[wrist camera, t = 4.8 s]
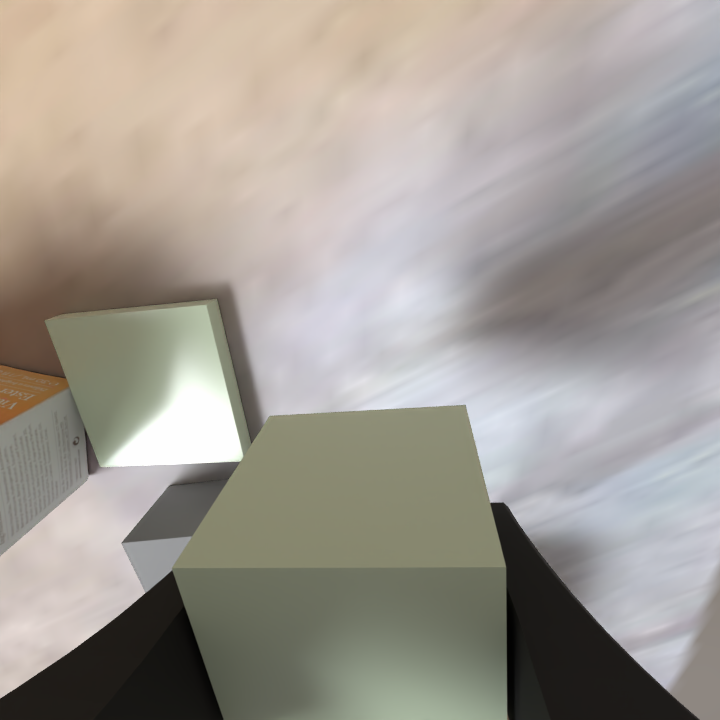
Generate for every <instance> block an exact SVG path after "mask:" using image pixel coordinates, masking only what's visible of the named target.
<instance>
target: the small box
mask: <svg viewBox="0 0 720 720" xmlns="http://www.w3.org/2000/svg"><path fill="white" fill-rule="evenodd" d="M87 479H88V465H87V452H86V439H85V427H84V424H83V421H82V418H81V416H80V413H79V410H78V408H77V405H76V403H75V400H74V397H73V395H72V392H71V389H70V387H69V384H68V381H67V379H65V378H60V377H54V376H48V375H43V374H39V373H34V372H29V371H25V370H20V369H15V368H11V367H7V366H3V365H0V556H1V555H2V554H3V553H4V552H5V551H7V550H8V549H9V548H10V547H11V546H12V545H13V544H15V543H16V542H17V541H18V540H19V539H20V538H22V537H23V536H24V535H25V534H26V533H27V532H29V531H30V530H31V529H32V528H33V527H34V526H35V525H36V524H38V523H39V522H40V521H41V520H42V519H43V518H44V517H46V516H47V515H48V514H49V513H50V512H51V511H52V510H54V509H55V508H56V507H57V506H58V505H59V504H61V503H62V502H63V501H64V500H65V499H66V498H67V497H69V496H70V495H71V494H72V493H73V492H74V491H75V490H77V489H78V488H79V487H80V486H81V485H82V484H84V483H85V482H86V481H87Z"/></svg>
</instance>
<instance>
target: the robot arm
mask: <svg viewBox="0 0 720 720" xmlns="http://www.w3.org/2000/svg"><path fill="white" fill-rule="evenodd" d="M490 505H491V509H492V513H493V517H494V521H495V525H496V529H497V533H498V537H499V541H500V545H501V549H502V553H503V557H504V561H505V565H506V617H507V714H508V718H509V720H699V719H698V718H697V717H696V716H695V715H694V714H692V713H691V712H690V711H689V710H688V709H686V708H685V707H684V706H683V705H682V704H681V703H680V702H679V701H677V700H676V699H675V698H674V697H673V696H672V695H671V694H670V693H669V692H668V691H667V690H666V689H664V688H663V687H662V686H661V685H660V684H659V683H658V682H657V681H656V680H655V679H654V678H653V677H652V676H651V675H650V674H649V673H647V672H646V671H645V670H644V669H643V668H642V667H641V666H640V665H639V664H638V663H637V662H636V661H635V660H634V659H633V658H632V657H631V656H630V655H629V654H628V653H627V652H626V651H625V650H624V649H623V648H622V647H621V646H620V645H619V644H618V643H617V642H616V641H615V640H614V639H613V638H612V637H611V636H610V635H609V634H608V633H607V632H606V630H605V629H604V628H603V627H602V626H601V625H600V624H599V623H598V622H597V621H596V620H595V619H594V618H593V616H592V615H591V614H590V613H589V612H588V611H587V610H586V609H585V607H584V606H583V605H582V604H581V603H580V602H579V601H578V600H577V598H576V597H575V596H574V595H573V594H572V593H571V591H570V590H569V589H568V588H567V587H566V586H565V584H564V583H563V582H562V581H561V579H560V578H559V577H558V576H557V574H556V573H555V572H554V571H553V569H552V568H551V567H550V566H549V564H548V563H547V562H546V561H545V559H544V558H543V557H542V556H541V554H540V553H539V552H538V550H537V549H536V548H535V546H534V545H533V543H532V542H531V541H530V539H529V538H528V537H527V535H526V534H525V532H524V531H523V529H522V528H521V527H520V525H519V524H518V522H517V521H516V519H515V517H514V516H513V514H512V513H511V511H510V509H509V508H508V506H506V505H505V504H504V503H490ZM0 720H224V719H223V716H222V713H221V710H220V707H219V704H218V702H217V699H216V696H215V693H214V690H213V687H212V684H211V681H210V678H209V675H208V672H207V670H206V667H205V664H204V661H203V658H202V655H201V652H200V649H199V646H198V643H197V640H196V637H195V635H194V632H193V629H192V626H191V623H190V620H189V617H188V614H187V611H186V608H185V605H184V603H183V600H182V597H181V594H180V591H179V588H178V585H177V582H176V579H175V576H174V573H173V571H171V572H170V573H169V574H167V575H166V576H165V577H164V578H163V579H162V580H160V581H159V582H158V583H157V584H156V585H155V586H153V587H152V588H151V589H150V590H149V591H148V592H146V593H145V594H144V595H143V596H142V597H140V598H139V599H138V600H137V601H136V602H135V603H133V604H132V605H131V606H130V607H129V608H128V609H126V610H125V611H124V612H123V613H121V614H120V615H119V616H118V617H116V618H115V619H114V620H112V621H111V622H110V623H109V624H107V625H106V626H105V627H103V628H102V629H101V630H99V631H98V632H97V633H95V634H94V635H93V636H91V637H90V638H89V639H87V640H86V641H85V642H83V643H82V644H81V645H79V646H78V647H77V648H75V649H74V650H72V651H71V652H70V653H68V654H67V655H65V656H64V657H62V658H61V659H59V660H58V661H56V662H55V663H53V664H52V665H50V666H49V667H47V668H46V669H44V670H43V671H41V672H40V673H38V674H37V675H35V676H34V677H32V678H31V679H29V680H28V681H26V682H25V683H23V684H22V685H21V686H19V687H18V688H16V689H15V690H13V691H11V692H10V693H8V694H7V695H5V696H4V697H2V698H0Z"/></svg>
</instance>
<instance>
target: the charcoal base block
mask: <svg viewBox="0 0 720 720" xmlns="http://www.w3.org/2000/svg"><path fill="white" fill-rule="evenodd" d="M228 480H229V479H225V480H217V481H208V482H200V483H191V484H183V485H174V486H169V487H168V488H167V489H166V490H165V491H164V493H163V494H162V495H161V496H160V497H159V499H158V500H157V501H156V502H155V503H154V505H153V506H152V507H151V508H150V509H149V511H148V512H147V513H146V514H145V515H144V517H143V518H142V519H141V520H140V521H139V523H138V524H137V525H136V526H135V527H134V529H133V530H132V531H131V532H130V533H129V535H128V536H127V537H126V538H125V539H124V541H123V542H122V545H123V548H124V550H125V552H126V554H127V556H128V558H129V560H130V562H131V564H132V566H133V568H134V570H135V572H136V574H137V576H138V578H139V580H140V582H141V584H142V586H143V588H144V590H145V593H146V592H148V591H149V590H150V589H151V588H152V587H153V586H155V585H156V584H157V583H158V582H159V581H160V580H162V579H163V578H164V577H165V576H166V575H167V574H169V573H170V572H171V571H172V567H173V565H174V564H175V562H176V561H177V559H178V558H179V556H180V555H181V553H182V551H183V550H184V548H185V547H186V545H187V544H188V542H189V541H190V539H191V537H192V536H193V534H194V533H195V531H196V530H197V528H198V527H199V525H200V523H201V522H202V520H203V519H204V517H205V516H206V514H207V513H208V511H209V510H210V508H211V506H212V505H213V503H214V502H215V500H216V499H217V497H218V496H219V494H220V492H221V491H222V489H223V488H224V486H225V485H226V483H227V482H228Z"/></svg>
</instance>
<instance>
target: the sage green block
mask: <svg viewBox="0 0 720 720" xmlns="http://www.w3.org/2000/svg"><path fill="white" fill-rule="evenodd" d="M172 571H173V573H174V576H175V579H176V582H177V585H178V588H179V591H180V594H181V597H182V600H183V603H184V605H185V608H186V611H187V614H188V617H189V620H190V623H191V626H192V629H193V632H194V635H195V637H196V640H197V643H198V646H199V649H200V652H201V655H202V658H203V661H204V664H205V667H206V670H207V672H208V675H209V678H210V681H211V684H212V687H213V690H214V693H215V696H216V699H217V702H218V704H219V707H220V710H221V713H222V716H223V719H224V720H507V617H506V565H505V561H504V557H503V553H502V549H501V545H500V541H499V537H498V533H497V529H496V525H495V521H494V517H493V513H492V509H491V505H490V501H489V497H488V493H487V489H486V485H485V481H484V477H483V473H482V469H481V465H480V461H479V457H478V453H477V449H476V445H475V441H474V437H473V433H472V429H471V425H470V421H469V417H468V413H467V409H466V405H456V406H439V407H421V408H403V409H385V410H367V411H349V412H332V413H314V414H296V415H278V416H269V418H268V419H267V421H266V423H265V424H264V426H263V427H262V429H261V430H260V432H259V433H258V435H257V437H256V438H255V440H254V441H253V443H252V444H251V446H250V447H249V449H248V451H247V452H246V454H245V455H244V457H243V458H242V460H241V461H240V463H239V464H238V466H237V468H236V469H235V471H234V472H233V474H232V475H231V477H230V478H229V480H228V482H227V483H226V485H225V486H224V488H223V489H222V491H221V492H220V494H219V496H218V497H217V499H216V500H215V502H214V503H213V505H212V506H211V508H210V510H209V511H208V513H207V514H206V516H205V517H204V519H203V520H202V522H201V523H200V525H199V527H198V528H197V530H196V531H195V533H194V534H193V536H192V537H191V539H190V541H189V542H188V544H187V545H186V547H185V548H184V550H183V551H182V553H181V555H180V556H179V558H178V559H177V561H176V562H175V564H174V565H173V567H172Z"/></svg>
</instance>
